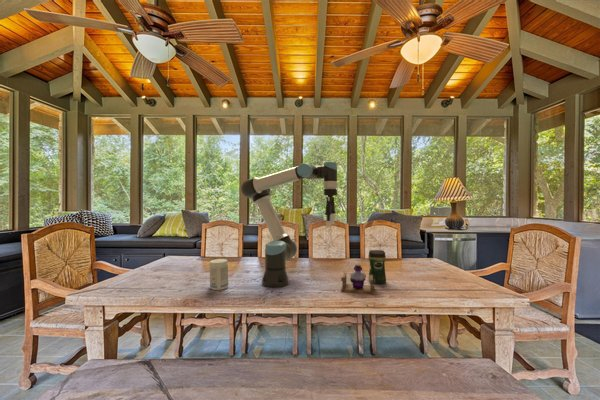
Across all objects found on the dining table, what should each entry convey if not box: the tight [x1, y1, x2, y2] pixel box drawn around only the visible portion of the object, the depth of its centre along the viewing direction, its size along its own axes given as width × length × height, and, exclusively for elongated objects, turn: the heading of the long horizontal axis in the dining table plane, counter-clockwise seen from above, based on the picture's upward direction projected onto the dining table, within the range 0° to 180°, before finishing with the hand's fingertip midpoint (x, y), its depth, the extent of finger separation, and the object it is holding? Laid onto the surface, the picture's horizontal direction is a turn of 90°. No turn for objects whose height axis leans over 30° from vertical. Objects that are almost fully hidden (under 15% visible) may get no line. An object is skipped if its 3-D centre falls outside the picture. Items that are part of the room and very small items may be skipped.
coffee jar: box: [368, 249, 387, 285], centre depth 160 cm, size 10×8×19 cm
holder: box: [340, 272, 375, 295], centre depth 147 cm, size 17×10×7 cm, turn 75°
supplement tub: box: [209, 258, 229, 291], centre depth 150 cm, size 10×10×15 cm
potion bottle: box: [349, 263, 367, 289], centre depth 147 cm, size 9×9×12 cm
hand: (330, 225), depth 159 cm, fingers open, 13 cm apart
